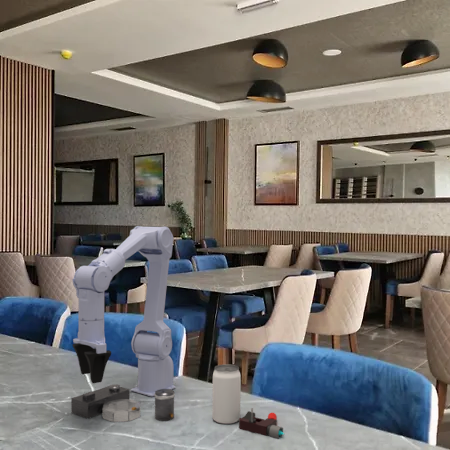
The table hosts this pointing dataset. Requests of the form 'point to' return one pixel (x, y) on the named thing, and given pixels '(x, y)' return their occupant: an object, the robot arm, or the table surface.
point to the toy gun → (261, 424)
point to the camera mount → (107, 404)
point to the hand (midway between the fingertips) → (91, 377)
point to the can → (226, 394)
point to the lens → (164, 404)
